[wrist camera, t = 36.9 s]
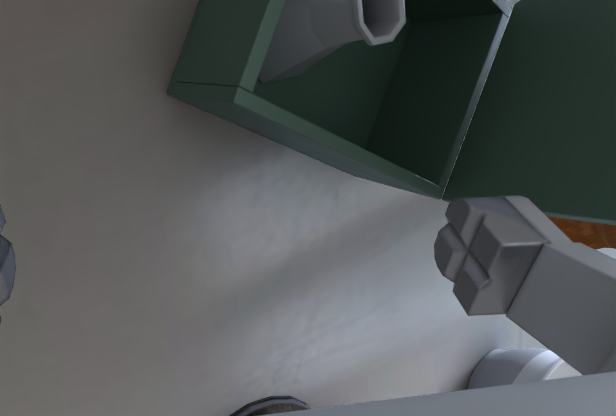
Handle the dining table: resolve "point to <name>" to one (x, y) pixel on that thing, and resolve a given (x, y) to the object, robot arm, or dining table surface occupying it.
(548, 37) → the chest lid
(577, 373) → the bowl
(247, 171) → the dining table surface
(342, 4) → the flask
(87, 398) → the dining table surface
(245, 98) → the chest
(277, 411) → the lantern
